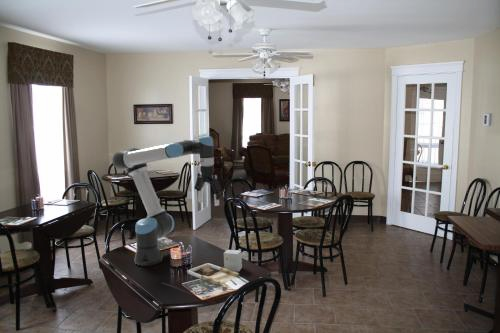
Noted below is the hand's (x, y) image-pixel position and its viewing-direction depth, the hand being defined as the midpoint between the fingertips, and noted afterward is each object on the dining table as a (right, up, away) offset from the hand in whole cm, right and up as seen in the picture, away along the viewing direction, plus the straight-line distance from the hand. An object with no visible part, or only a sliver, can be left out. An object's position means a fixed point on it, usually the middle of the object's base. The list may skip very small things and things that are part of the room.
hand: (208, 203), depth 236 cm
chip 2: (+2, -34, -18) cm, 39 cm away
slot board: (+8, -35, -24) cm, 43 cm away
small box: (+14, -34, -13) cm, 39 cm away
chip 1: (0, -33, -14) cm, 36 cm away
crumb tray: (0, -34, -16) cm, 38 cm away
